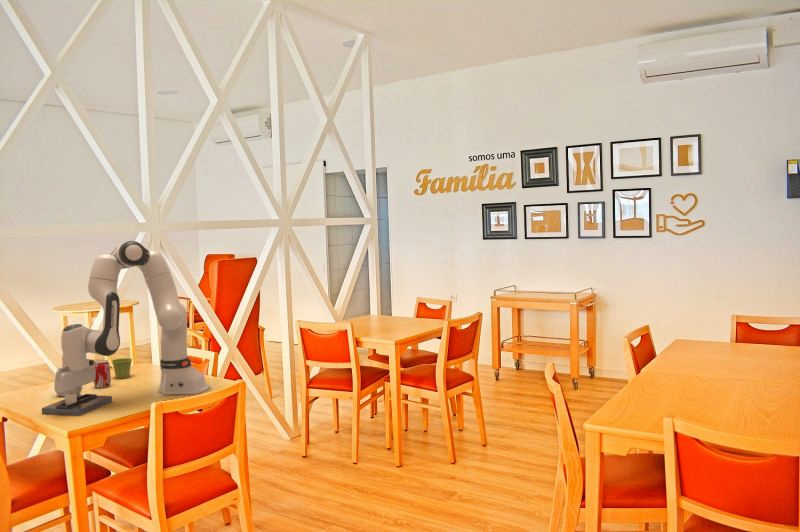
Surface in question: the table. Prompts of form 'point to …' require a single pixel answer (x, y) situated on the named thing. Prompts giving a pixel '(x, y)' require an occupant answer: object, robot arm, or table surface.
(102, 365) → the soda can
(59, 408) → the console
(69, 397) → the fader
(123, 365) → the plant pot
